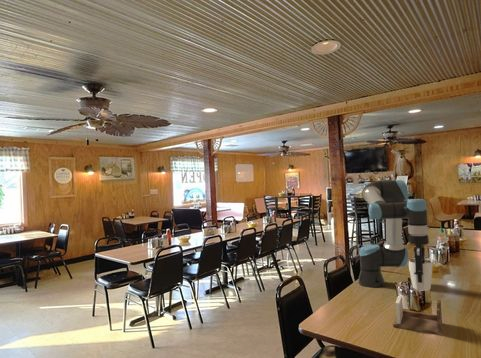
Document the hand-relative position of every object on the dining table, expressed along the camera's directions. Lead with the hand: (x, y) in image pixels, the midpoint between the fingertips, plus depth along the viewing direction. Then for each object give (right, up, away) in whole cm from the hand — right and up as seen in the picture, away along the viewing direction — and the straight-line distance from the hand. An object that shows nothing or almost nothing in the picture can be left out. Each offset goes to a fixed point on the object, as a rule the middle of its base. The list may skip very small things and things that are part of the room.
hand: (421, 286), depth 142 cm
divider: (-7, -16, +5) cm, 18 cm away
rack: (-1, -18, +1) cm, 18 cm away
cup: (0, -1, 0) cm, 1 cm away
